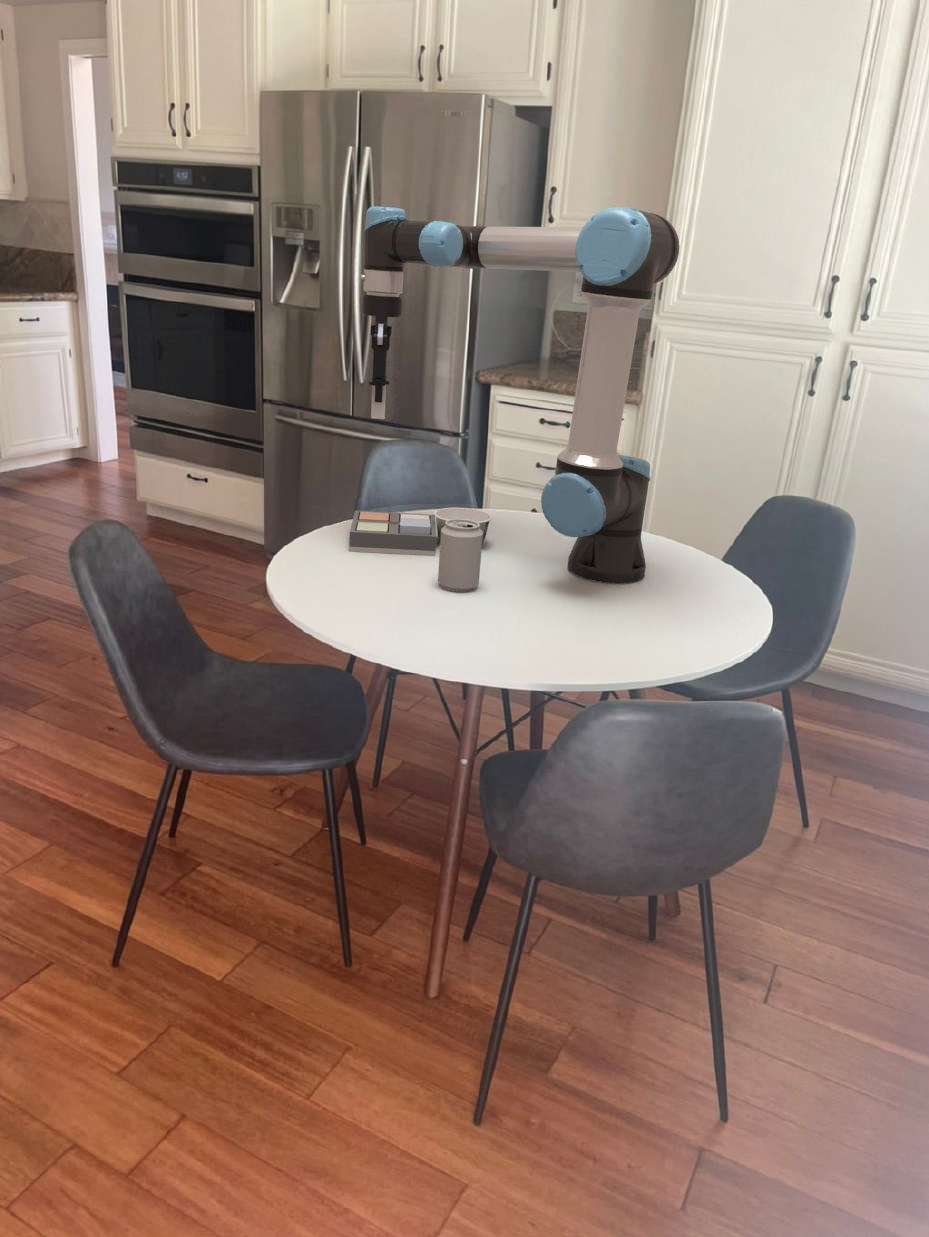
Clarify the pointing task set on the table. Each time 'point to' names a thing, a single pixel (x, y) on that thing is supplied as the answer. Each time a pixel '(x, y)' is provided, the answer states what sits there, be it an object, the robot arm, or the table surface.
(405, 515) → the key
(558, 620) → the table surface
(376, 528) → the key
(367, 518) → the key
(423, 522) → the key
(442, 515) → the food container
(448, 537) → the can
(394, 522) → the keypad
